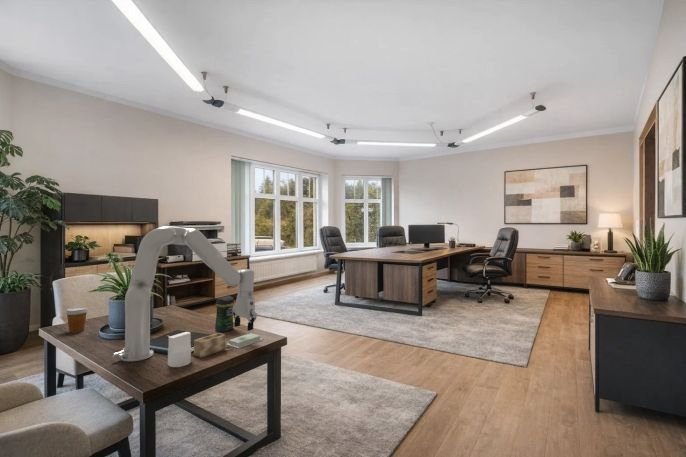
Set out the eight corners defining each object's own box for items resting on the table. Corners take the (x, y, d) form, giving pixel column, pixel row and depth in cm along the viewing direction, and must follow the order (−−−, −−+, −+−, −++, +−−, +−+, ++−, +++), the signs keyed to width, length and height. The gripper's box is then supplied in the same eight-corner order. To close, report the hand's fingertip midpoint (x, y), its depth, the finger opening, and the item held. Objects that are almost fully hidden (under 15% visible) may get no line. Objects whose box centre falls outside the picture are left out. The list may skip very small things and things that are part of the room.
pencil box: (200, 357, 158) (200, 342, 158) (194, 355, 161) (194, 339, 161) (225, 349, 169) (225, 334, 169) (218, 347, 171) (218, 332, 171)
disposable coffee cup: (70, 329, 195) (70, 307, 194) (90, 327, 198) (90, 306, 197) (62, 334, 186) (62, 311, 185) (83, 333, 188) (83, 310, 188)
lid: (238, 346, 172) (238, 343, 172) (228, 343, 175) (229, 340, 175) (260, 339, 183) (260, 335, 183) (250, 336, 187) (250, 333, 187)
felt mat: (238, 348, 170) (238, 347, 170) (226, 344, 175) (226, 343, 175) (263, 339, 183) (263, 339, 183) (251, 336, 188) (251, 335, 188)
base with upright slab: (176, 368, 146) (177, 339, 146) (163, 364, 150) (163, 335, 150) (195, 361, 154) (195, 333, 154) (181, 357, 158) (182, 330, 158)
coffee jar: (223, 333, 193) (223, 299, 193) (212, 330, 196) (213, 297, 196) (236, 328, 202) (236, 295, 201) (225, 326, 205) (226, 294, 205)
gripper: (263, 295, 177) (261, 330, 177) (239, 290, 187) (238, 323, 187) (251, 297, 171) (249, 333, 171) (228, 292, 180) (226, 326, 181)
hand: (243, 328), depth 179 cm, fingers open, 9 cm apart
